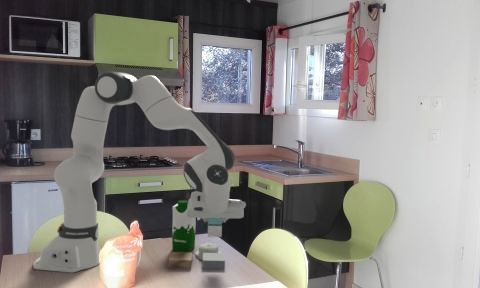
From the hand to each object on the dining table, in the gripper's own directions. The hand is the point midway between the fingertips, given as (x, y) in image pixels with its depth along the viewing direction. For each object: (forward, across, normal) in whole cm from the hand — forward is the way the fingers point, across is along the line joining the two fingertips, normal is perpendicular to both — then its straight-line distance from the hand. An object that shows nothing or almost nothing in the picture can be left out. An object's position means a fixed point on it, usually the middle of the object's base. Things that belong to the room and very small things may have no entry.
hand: (214, 220), depth 158 cm
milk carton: (+23, +12, 0) cm, 26 cm away
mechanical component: (+18, +2, +6) cm, 19 cm away
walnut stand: (+11, +12, +12) cm, 20 cm away
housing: (+3, 0, +4) cm, 5 cm away
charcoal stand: (+11, 0, +12) cm, 16 cm away
